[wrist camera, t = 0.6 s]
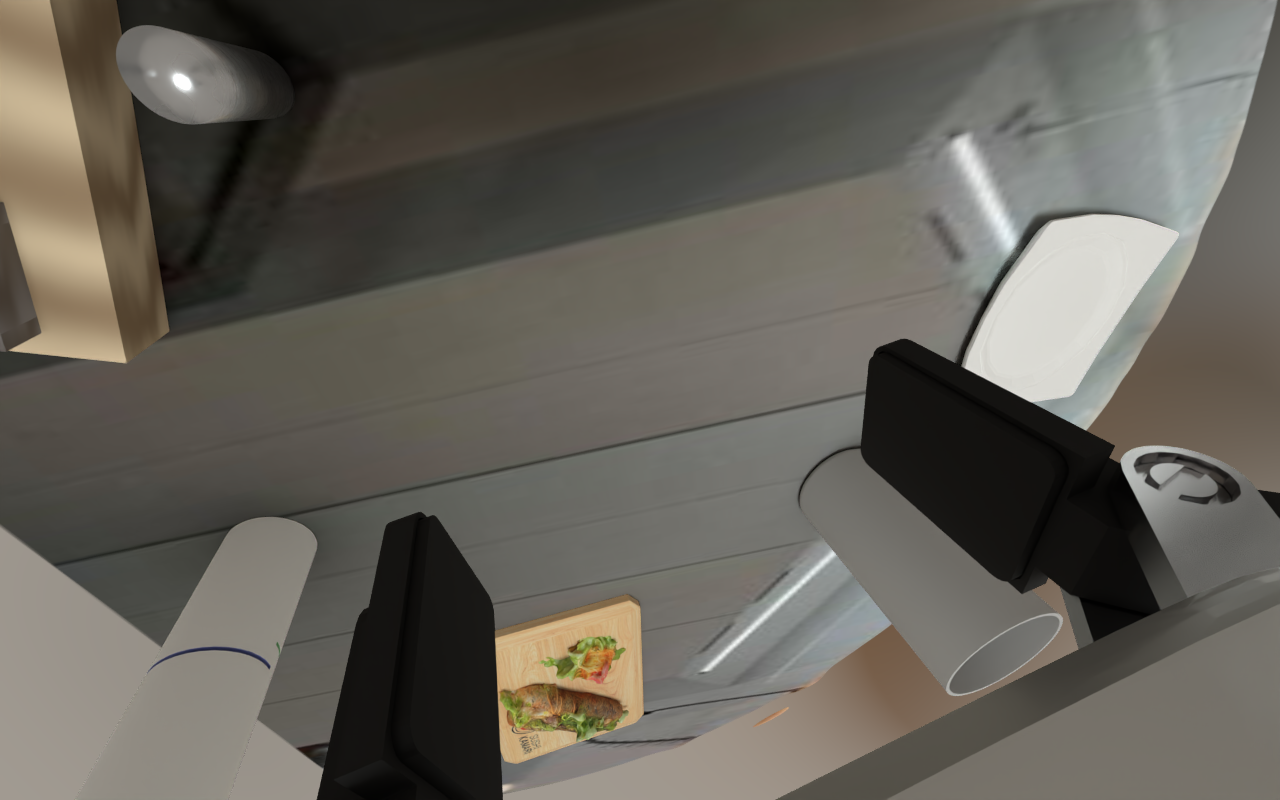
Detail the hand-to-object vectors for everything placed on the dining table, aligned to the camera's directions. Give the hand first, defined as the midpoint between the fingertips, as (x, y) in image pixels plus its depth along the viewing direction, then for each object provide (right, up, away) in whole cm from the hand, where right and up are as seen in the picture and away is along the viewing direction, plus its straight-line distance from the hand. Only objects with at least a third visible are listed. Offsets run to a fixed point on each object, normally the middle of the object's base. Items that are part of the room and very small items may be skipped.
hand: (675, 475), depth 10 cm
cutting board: (-12, -41, +62) cm, 75 cm away
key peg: (-23, +20, +18) cm, 36 cm away
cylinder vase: (+26, -10, +55) cm, 61 cm away
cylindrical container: (-35, -12, +34) cm, 51 cm away
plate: (+50, +12, +49) cm, 71 cm away
